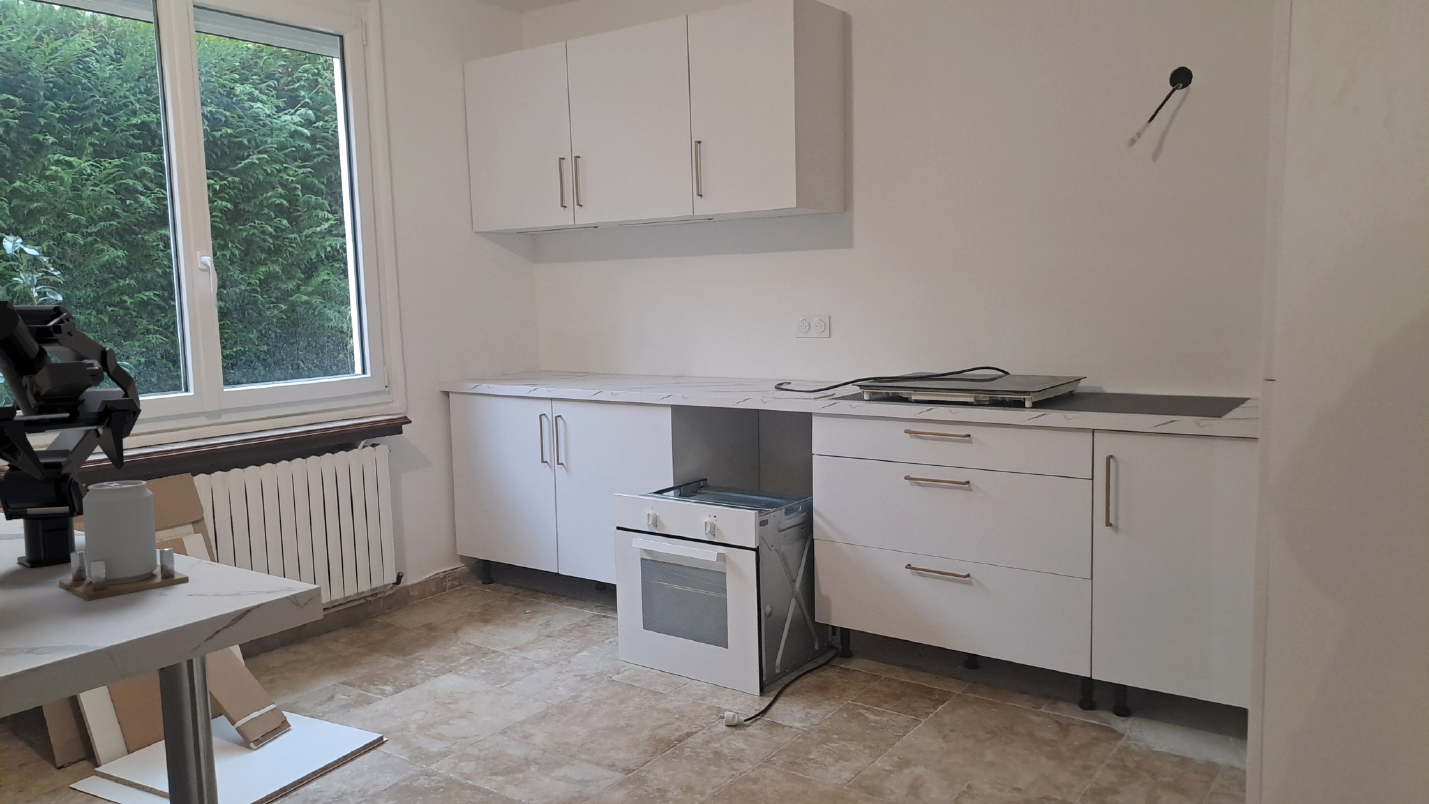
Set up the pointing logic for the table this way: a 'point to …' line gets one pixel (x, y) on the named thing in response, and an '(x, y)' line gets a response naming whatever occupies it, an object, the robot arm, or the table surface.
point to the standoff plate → (101, 589)
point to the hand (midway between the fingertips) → (83, 472)
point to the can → (120, 530)
